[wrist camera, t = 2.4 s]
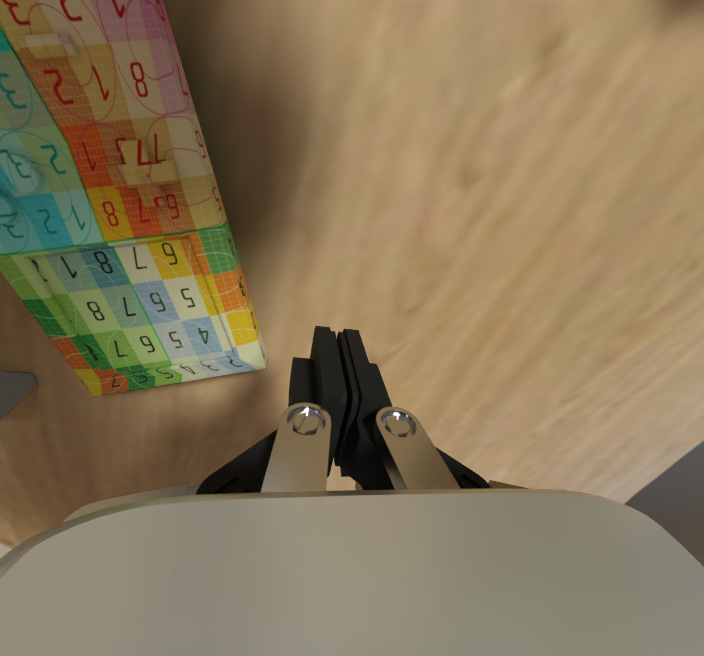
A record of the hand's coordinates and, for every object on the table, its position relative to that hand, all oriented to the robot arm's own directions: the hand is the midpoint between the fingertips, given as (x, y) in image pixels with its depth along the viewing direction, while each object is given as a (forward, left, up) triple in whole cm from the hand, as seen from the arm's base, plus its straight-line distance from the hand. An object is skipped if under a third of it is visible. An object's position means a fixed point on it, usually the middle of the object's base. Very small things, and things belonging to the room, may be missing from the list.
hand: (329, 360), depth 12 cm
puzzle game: (-1, -11, -12) cm, 17 cm away
